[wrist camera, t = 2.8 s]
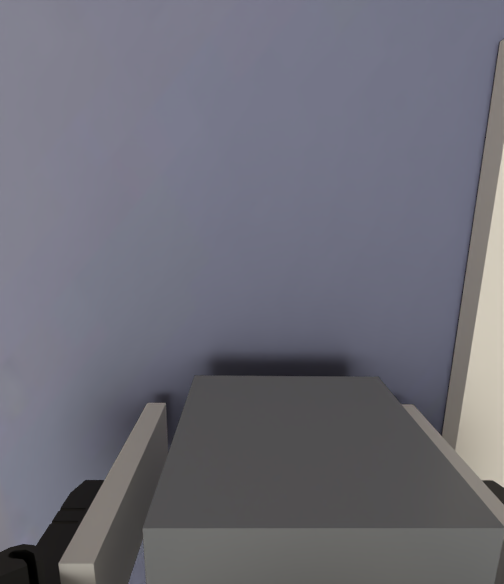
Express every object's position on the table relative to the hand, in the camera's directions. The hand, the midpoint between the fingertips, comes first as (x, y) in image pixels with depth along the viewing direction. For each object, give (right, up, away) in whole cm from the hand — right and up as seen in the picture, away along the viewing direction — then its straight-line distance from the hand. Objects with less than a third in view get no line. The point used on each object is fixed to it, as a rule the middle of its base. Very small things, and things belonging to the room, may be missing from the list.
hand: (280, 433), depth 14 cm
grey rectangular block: (0, 0, +1) cm, 1 cm away
